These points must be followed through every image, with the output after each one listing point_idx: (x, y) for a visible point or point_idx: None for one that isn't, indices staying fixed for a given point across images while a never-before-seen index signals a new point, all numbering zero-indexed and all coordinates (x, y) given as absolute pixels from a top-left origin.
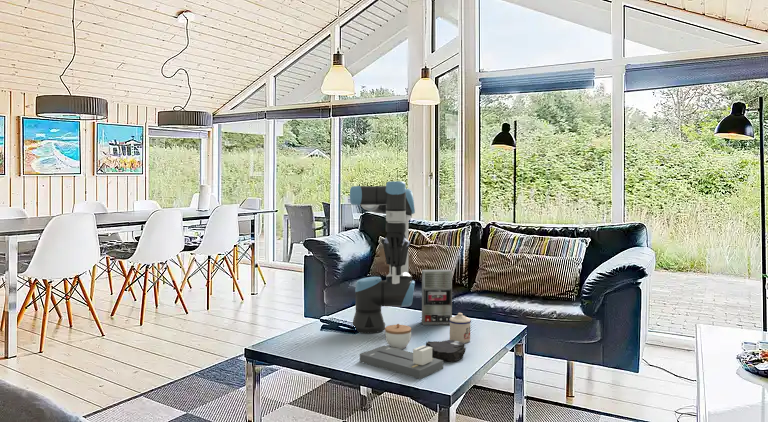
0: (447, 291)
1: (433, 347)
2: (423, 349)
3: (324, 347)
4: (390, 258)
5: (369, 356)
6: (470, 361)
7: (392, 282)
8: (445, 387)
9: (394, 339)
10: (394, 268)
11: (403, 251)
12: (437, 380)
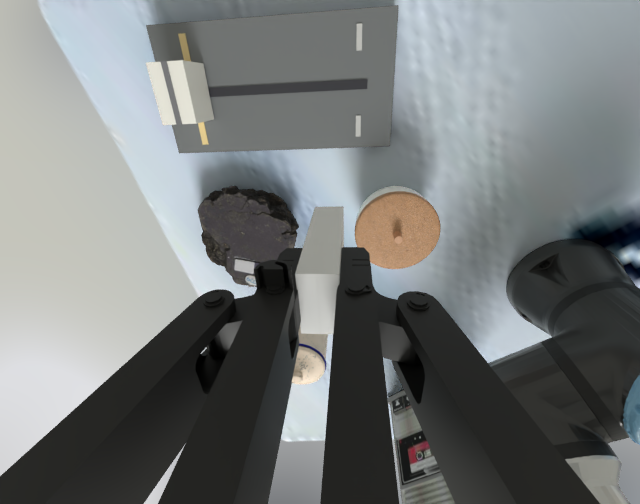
0: (409, 475)
1: (257, 210)
2: (161, 85)
3: (605, 41)
4: (372, 348)
5: (353, 11)
6: (190, 232)
7: (339, 210)
8: (75, 29)
9: (381, 190)
10: (306, 266)
11: (10, 478)
12: (128, 60)
